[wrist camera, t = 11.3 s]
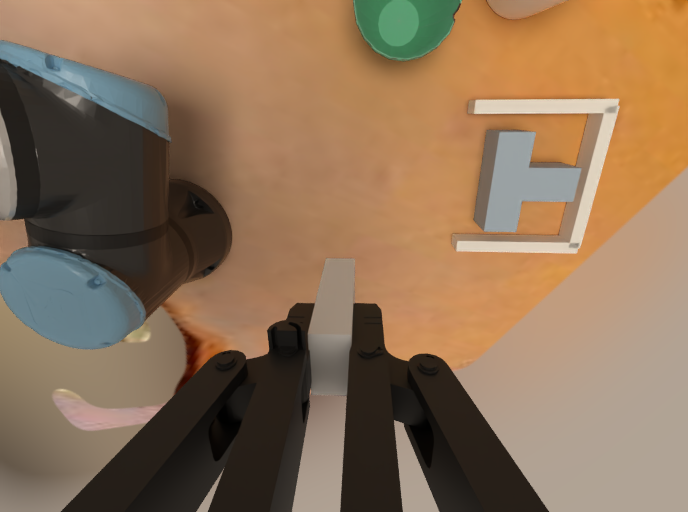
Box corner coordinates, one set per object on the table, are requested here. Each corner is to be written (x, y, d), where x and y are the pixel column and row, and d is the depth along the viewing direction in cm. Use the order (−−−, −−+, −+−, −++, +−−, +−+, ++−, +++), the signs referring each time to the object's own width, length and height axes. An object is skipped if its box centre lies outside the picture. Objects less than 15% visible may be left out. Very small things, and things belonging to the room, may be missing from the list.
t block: (473, 220, 49) (483, 231, 44) (486, 129, 44) (499, 132, 40) (546, 221, 48) (565, 232, 44) (567, 129, 44) (590, 132, 39)
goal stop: (451, 243, 50) (456, 251, 48) (468, 100, 43) (475, 99, 40) (566, 245, 50) (578, 253, 47) (604, 99, 42) (621, 98, 39)
